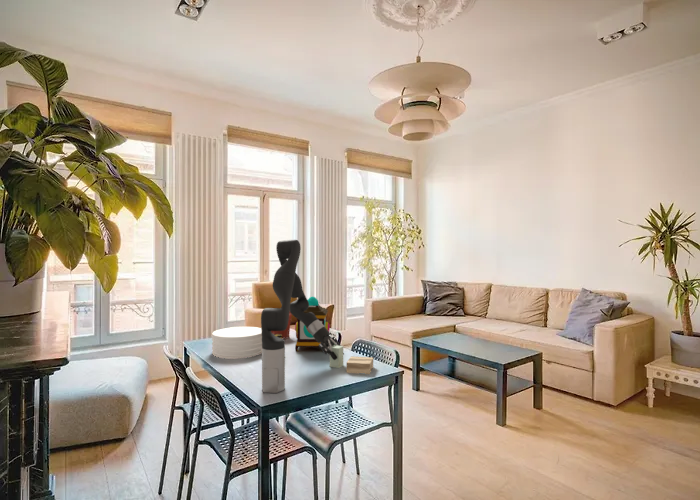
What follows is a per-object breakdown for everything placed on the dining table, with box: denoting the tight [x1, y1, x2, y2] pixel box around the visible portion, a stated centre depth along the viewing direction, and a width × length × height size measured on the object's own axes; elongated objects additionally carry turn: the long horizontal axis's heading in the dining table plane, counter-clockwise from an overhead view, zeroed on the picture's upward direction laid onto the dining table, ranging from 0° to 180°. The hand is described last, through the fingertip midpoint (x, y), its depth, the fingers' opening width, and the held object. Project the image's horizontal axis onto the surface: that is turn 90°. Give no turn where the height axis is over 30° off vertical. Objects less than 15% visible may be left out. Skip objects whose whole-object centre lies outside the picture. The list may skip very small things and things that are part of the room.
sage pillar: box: [329, 344, 344, 369], centre depth 195 cm, size 5×5×10 cm
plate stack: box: [211, 326, 262, 360], centre depth 221 cm, size 28×28×12 cm
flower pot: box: [271, 311, 293, 340], centre depth 256 cm, size 16×16×16 cm
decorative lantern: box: [294, 296, 330, 352], centre depth 229 cm, size 20×20×30 cm
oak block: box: [346, 356, 374, 375], centre depth 189 cm, size 11×11×5 cm
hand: (339, 357), depth 194 cm, fingers open, 6 cm apart
